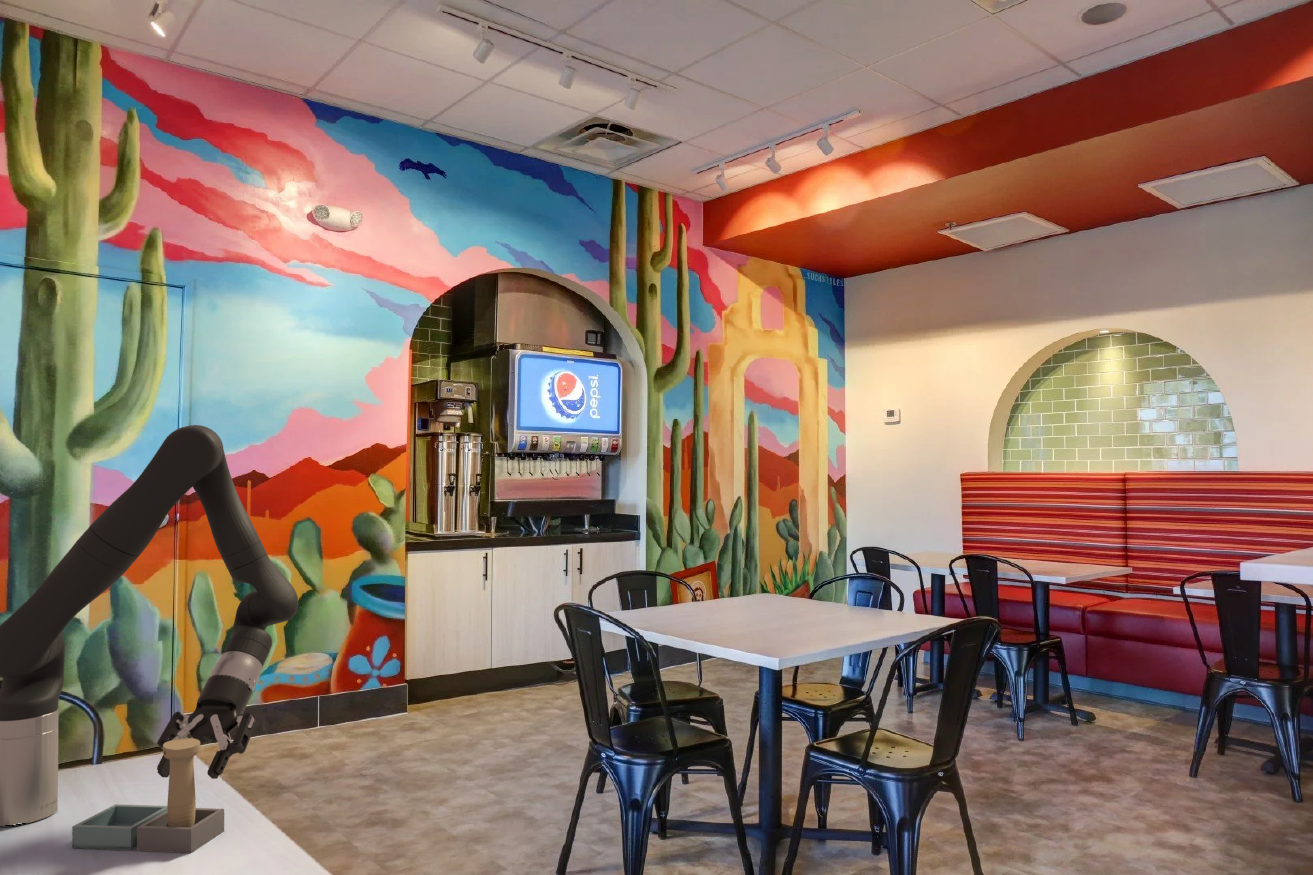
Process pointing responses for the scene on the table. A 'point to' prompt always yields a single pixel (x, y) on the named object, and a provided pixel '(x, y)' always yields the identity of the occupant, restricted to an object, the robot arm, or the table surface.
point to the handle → (181, 781)
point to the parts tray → (113, 827)
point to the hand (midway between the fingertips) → (186, 776)
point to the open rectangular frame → (180, 832)
